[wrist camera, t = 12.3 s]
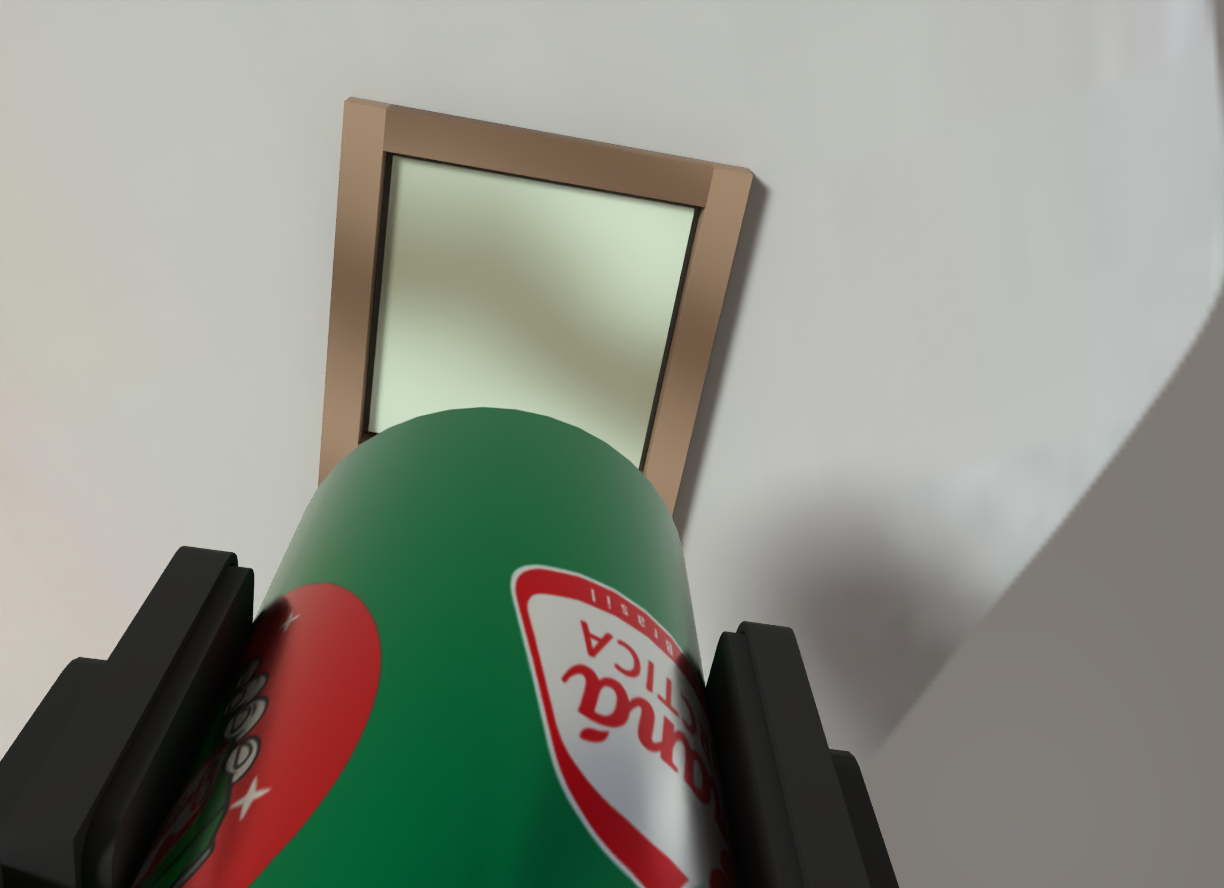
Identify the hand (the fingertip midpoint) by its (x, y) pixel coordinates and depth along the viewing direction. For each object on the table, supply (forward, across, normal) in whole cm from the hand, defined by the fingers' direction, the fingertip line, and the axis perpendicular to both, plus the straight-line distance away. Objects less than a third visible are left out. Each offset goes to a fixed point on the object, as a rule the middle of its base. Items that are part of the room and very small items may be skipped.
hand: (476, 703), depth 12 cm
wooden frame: (+13, 0, +7) cm, 15 cm away
